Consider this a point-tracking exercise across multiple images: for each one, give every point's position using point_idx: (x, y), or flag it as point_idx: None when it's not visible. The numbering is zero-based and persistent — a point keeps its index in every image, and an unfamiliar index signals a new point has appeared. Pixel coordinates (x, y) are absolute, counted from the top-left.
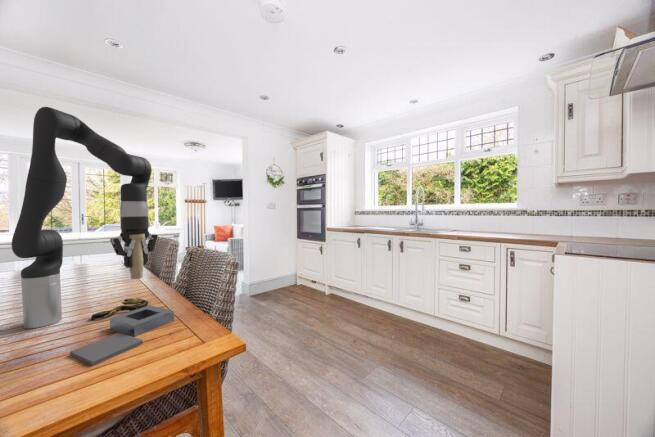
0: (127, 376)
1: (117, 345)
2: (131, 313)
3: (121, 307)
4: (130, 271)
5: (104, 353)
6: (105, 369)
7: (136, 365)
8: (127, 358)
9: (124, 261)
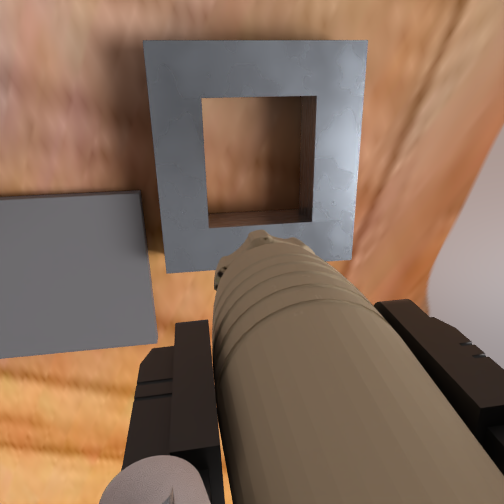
0: (49, 472)
1: (86, 309)
2: (241, 85)
3: None
4: (213, 315)
5: (36, 332)
6: (20, 400)
7: (85, 443)
8: (85, 389)
9: (136, 416)
